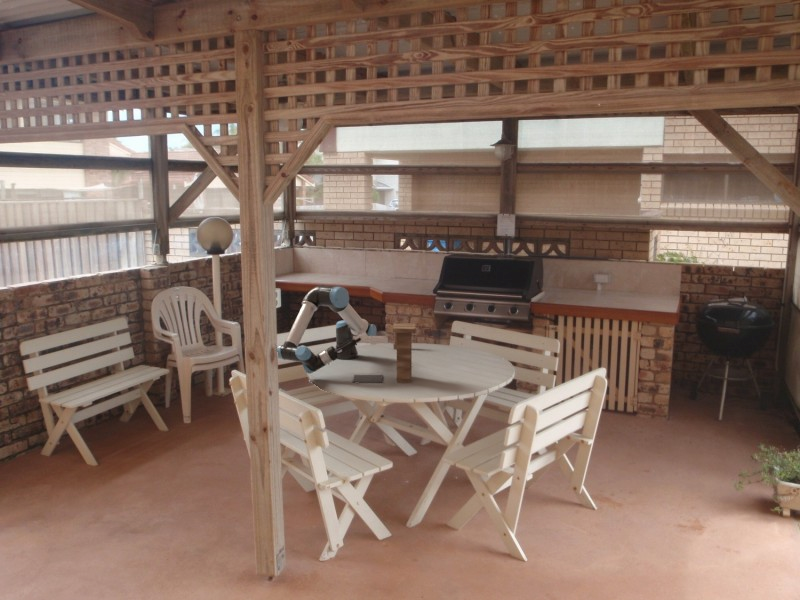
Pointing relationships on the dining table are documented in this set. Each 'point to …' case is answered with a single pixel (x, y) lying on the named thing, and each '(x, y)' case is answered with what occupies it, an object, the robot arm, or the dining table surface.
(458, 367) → the dining table surface
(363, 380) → the rubber mat
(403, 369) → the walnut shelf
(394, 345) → the wooden block
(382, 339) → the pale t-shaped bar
